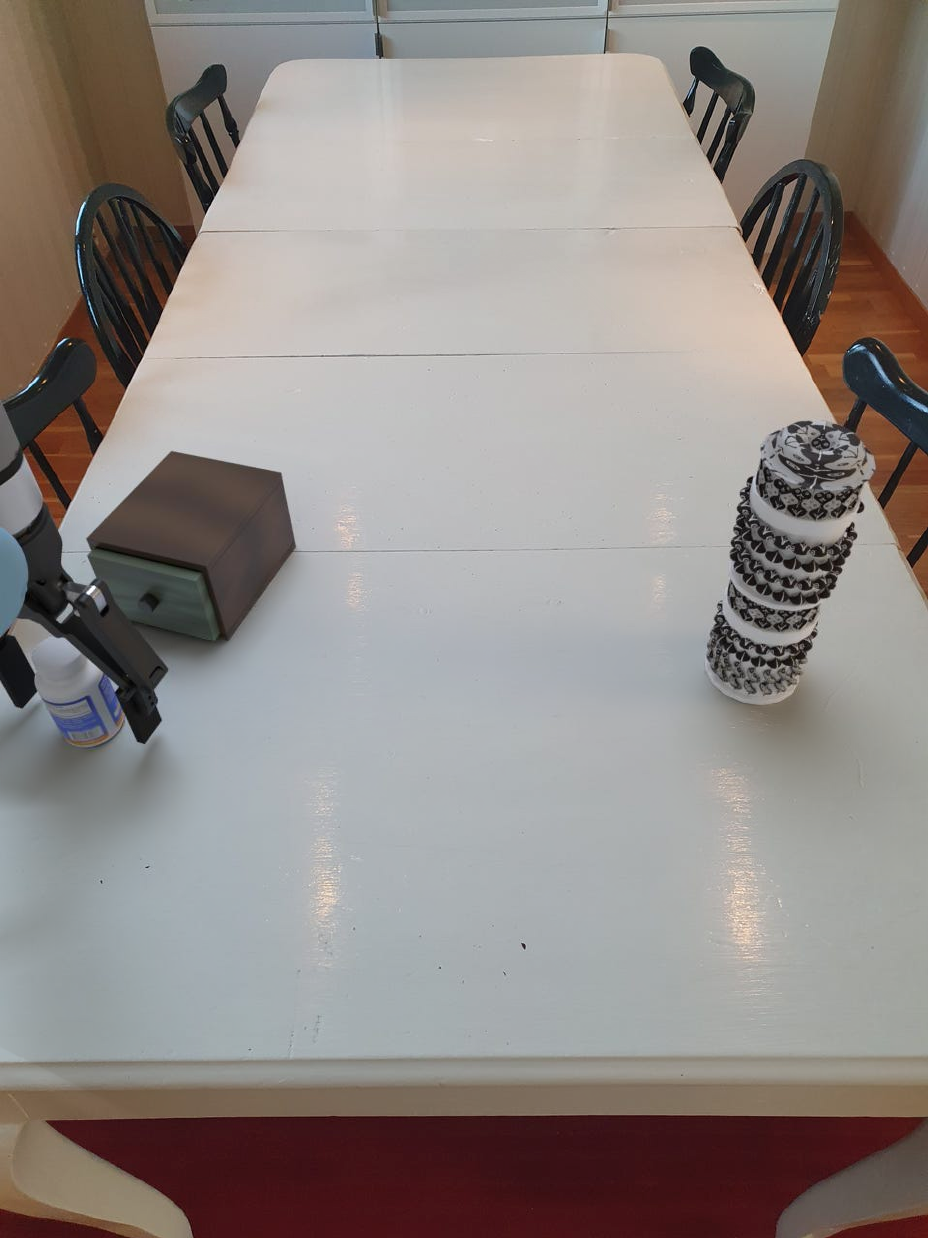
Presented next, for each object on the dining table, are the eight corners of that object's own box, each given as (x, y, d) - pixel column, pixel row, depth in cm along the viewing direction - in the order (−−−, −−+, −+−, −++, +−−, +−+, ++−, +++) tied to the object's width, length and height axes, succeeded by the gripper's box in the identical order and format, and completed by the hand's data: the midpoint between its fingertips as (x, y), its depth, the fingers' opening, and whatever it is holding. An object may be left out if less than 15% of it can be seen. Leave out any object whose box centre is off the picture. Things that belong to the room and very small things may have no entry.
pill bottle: (93, 693, 83) (57, 617, 76) (138, 714, 81) (105, 639, 74) (48, 735, 79) (6, 660, 72) (94, 758, 77) (55, 684, 70)
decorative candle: (710, 622, 87) (766, 394, 69) (809, 648, 85) (894, 417, 67) (689, 690, 81) (744, 459, 64) (795, 720, 79) (883, 488, 61)
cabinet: (228, 640, 87) (206, 566, 80) (116, 612, 90) (85, 538, 83) (296, 546, 97) (281, 472, 90) (193, 523, 100) (171, 450, 93)
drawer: (208, 650, 85) (188, 589, 79) (104, 624, 88) (78, 563, 82) (280, 552, 94) (266, 491, 89) (184, 531, 97) (166, 471, 92)
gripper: (168, 518, 63) (231, 714, 78) (-106, 458, 69) (2, 652, 84) (105, 589, 58) (185, 783, 73) (-185, 518, 64) (-54, 712, 79)
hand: (88, 713), depth 79 cm, fingers open, 12 cm apart
